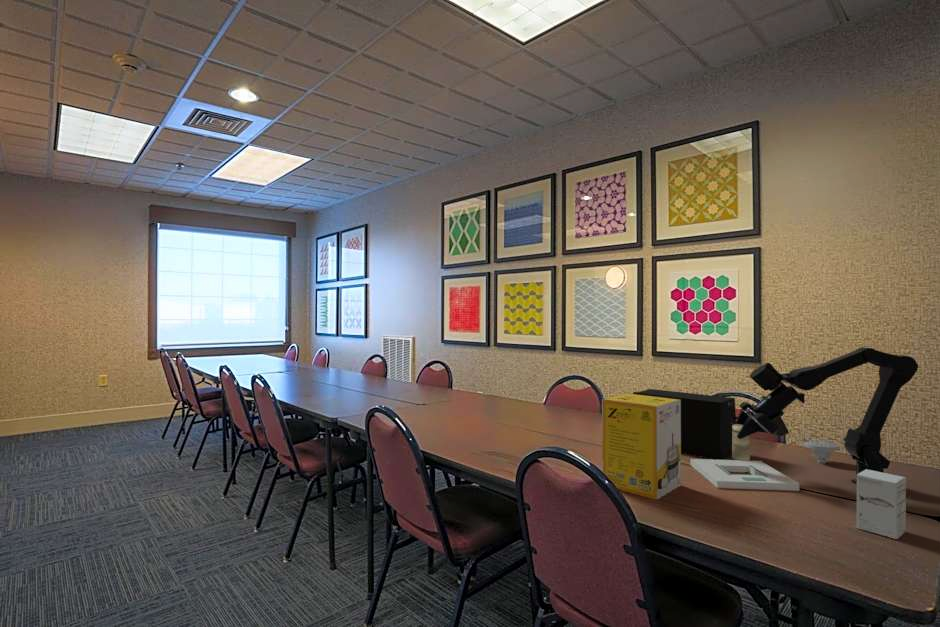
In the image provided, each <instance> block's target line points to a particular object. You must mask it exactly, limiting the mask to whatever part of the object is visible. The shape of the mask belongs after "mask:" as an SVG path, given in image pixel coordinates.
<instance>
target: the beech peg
mask: <svg viewBox="0 0 940 627" xmlns="http://www.w3.org/2000/svg"><path fill="white" fill-rule="evenodd" d="M742 427H743V425H742V424H734V425H732V455H731V458H732V460H740V461H751V435H749V436H746V437H744V438H742V439H739V438H738V437H737V435H738V433H739V432H740V430H741V428H742Z"/></svg>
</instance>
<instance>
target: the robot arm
mask: <svg viewBox="0 0 940 627" xmlns="http://www.w3.org/2000/svg"><path fill="white" fill-rule="evenodd" d="M867 363H869V364H871V365H873V366H877V367H879V368H878V376H879V382H878V385H877V387H876V389H875V390H874V393H873V396H872V399H871V400H870V403H869V405H868V407H867V409H866V412H865V413H864V416H863V419H862V421H861V422H860V425H859V426H858V427H856V428H855V429H853V428H851V427H850V428H849V429H847V432H846V433H847V434H846V436H845V437H844V438H843V439H842V441H844V443H843V444H844V448H845V450H846V452H847V453H848V454H850V456H851V459H852V460H854V461H856V463H855V464H856V465H855V477H856V478H855V479H853V478H852V479H850V481H851V482H852V483H854V484H856V485H857V474H859V473H860V472H862V471H864V470H866V469H868V470H873V471H878V472H882V473H885V472H884V470H886V469H888V468H889V467H890V464H891V461H890V460H889V459H888V458H887V457H885V456H884V455H883V454H882V453H881V449H882V439H881V438H882V436H881V432H882V430H883V428H884V426H885V423H886V421H887V419H888V416H889V414H890V412H891V410H892V408H893V406H894V403H895V401H896V399H897V396H898V394H899V393H900V390H901V388H902V387H903V386H904V385H906V384H907V383H908V382H911V380H912V378H913V377H914V375H915V374H916V373H917V371H918V370H919V364H918V363H917V361H916V360H915V358H913V357H912V356H908V355H901V354H891V353H887V352H884V351H880V350H876V349H874V348H873V347H864V346H862V347H859V348H857V349H855V350H853V351H851V352H848V353H845V354H843V355H840V356H837V357H834V358H833V359H831V360H828V361H825V362H822V363H820V364H816V365H811V366H804V367H800V368H794V369H791V370H790V371H789V372H788V373H780V371H778V370H777V369H775V367H774V366H773V365H772V364H771V363H769V362H765V363H764V364H763V365H760V366H759V367H757V368H754V369H753V371H751V373H750V374H749V378H750V379H752V381H754V382H755V383H756V384H757V385H758V386H759V387H760V388H761V389H762V390H763V391H770V393H768V394H767V395H766V396H765V395H762V396H761V397H760V398H761V400H760V401H758V402H757V404H751V403H749V402H748V401H743V402H741V403H740V404H739V405H738V407H739V408H740V410H739V414H738V416H737V417H738V419H736V424H742V425H743V427H742V428H741V430H740V432H739V433H738V435H737V437H738V438H739V439H742V438H744V437H746V436H749V435H750V436H751V435H753V434H755V433H765V434H767V433H768V432H769V434H771V435H772V436H774V435H776V436H777V438H780V437H783V436H786V435H788V434H790V432H789V429H788V428H787V426H786V423H785V421H784V420H783V418H782V417H783V415H784V414H785V411H784V410H785V409H786V408H787V407H789V406H790V405H791V404H793V402H795V401H796V400H797V401H798V402H800V403H801V404H804V403H806V401H805V400H806V399H805V395H806V394H805V393H803V392H799V391H797V390H796V389H800V390H802V391H811V390H813V389H815V388H816V387H818V386H820V385H821V384H823V383H824V382H825V381H826V380H827V379H829V378H831V377H834V376H837V375H839V374H841V373H844V372H848V371H850V370H852V369H854V368H858V367H860V366H863V365H865V364H867ZM784 383H786V384H789V386H787V385H786V384H784ZM795 388H796V389H795ZM767 431H768V432H767Z"/></svg>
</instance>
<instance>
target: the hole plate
mask: <svg viewBox="0 0 940 627" xmlns="http://www.w3.org/2000/svg"><path fill="white" fill-rule="evenodd" d="M689 462H690V463H689V466H691V467H693V469H695V471H697V472H698V473H699V474H700V473H701V476H702V477H704V478H705V479H706V480H708V482H710V483H711V484H712V485H713V486H714V487H716V488H717V489H735V490H740V489H741V490H765V491H766V490H767V491H768V490H769V491H787V492H788V491H791V492H799V491H800V483H799V482H797V481H795V480H794V479H792V478H790V477H789V476H787V475H785V474H784V473H782V472H780V471H778V470H777V469H775V468H774V467H771V466H770V465H768V464H766V463H764V462H763V461H762V460H749V461H740V460H736V459H724V460H714V459H708V458H690V459H689ZM745 472H748V474H746V473H745ZM731 473H745V474H731Z"/></svg>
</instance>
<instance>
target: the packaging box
mask: <svg viewBox="0 0 940 627" xmlns="http://www.w3.org/2000/svg"><path fill="white" fill-rule="evenodd" d="M602 472H604V473H605V474H606V475H607V476H608V477H609V479H610V480H611V481H612V482H613V483H614V484H615V485H616V486H617V487H618V488H619V489H620V490H619V491H622V492H627V493H629V492H630V493H629V494H633V495H638V496H641V497H644V498H647V497H648V499H651V498H652V500H655V499H656V501H657V499H658V500H659V499H661V498H663V497H664V496H666V495H667V493H668V494H669V493H671V492H673V491H674V490H676V489H678V488H679V487H681V486H682V453H681V400H679V399H670V398H662V397H653V396H645V395H636V394H633V393H624V394H620V395H615V396H611V397H607V398H602V399H601V473H602ZM677 487H678V488H677ZM672 490H673V491H672ZM662 496H663V497H662Z"/></svg>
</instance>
